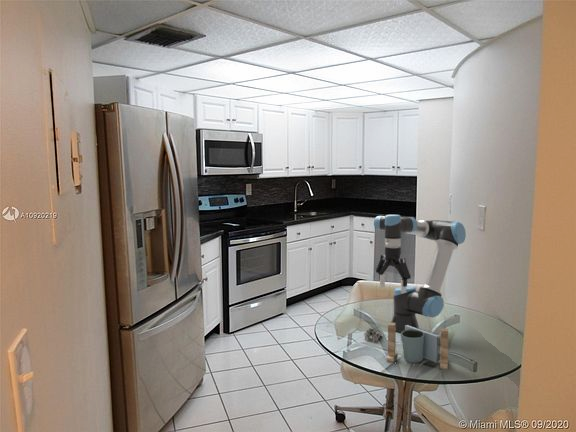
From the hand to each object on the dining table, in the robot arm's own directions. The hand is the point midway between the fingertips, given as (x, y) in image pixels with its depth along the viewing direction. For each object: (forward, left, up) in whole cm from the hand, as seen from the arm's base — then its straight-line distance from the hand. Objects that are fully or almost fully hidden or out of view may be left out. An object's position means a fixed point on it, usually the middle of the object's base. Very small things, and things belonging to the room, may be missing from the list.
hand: (392, 290), depth 213 cm
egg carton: (-10, -12, -29) cm, 33 cm away
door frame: (+12, +13, -29) cm, 34 cm away
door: (+6, +15, -28) cm, 33 cm away
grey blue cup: (+11, +11, -28) cm, 32 cm away
